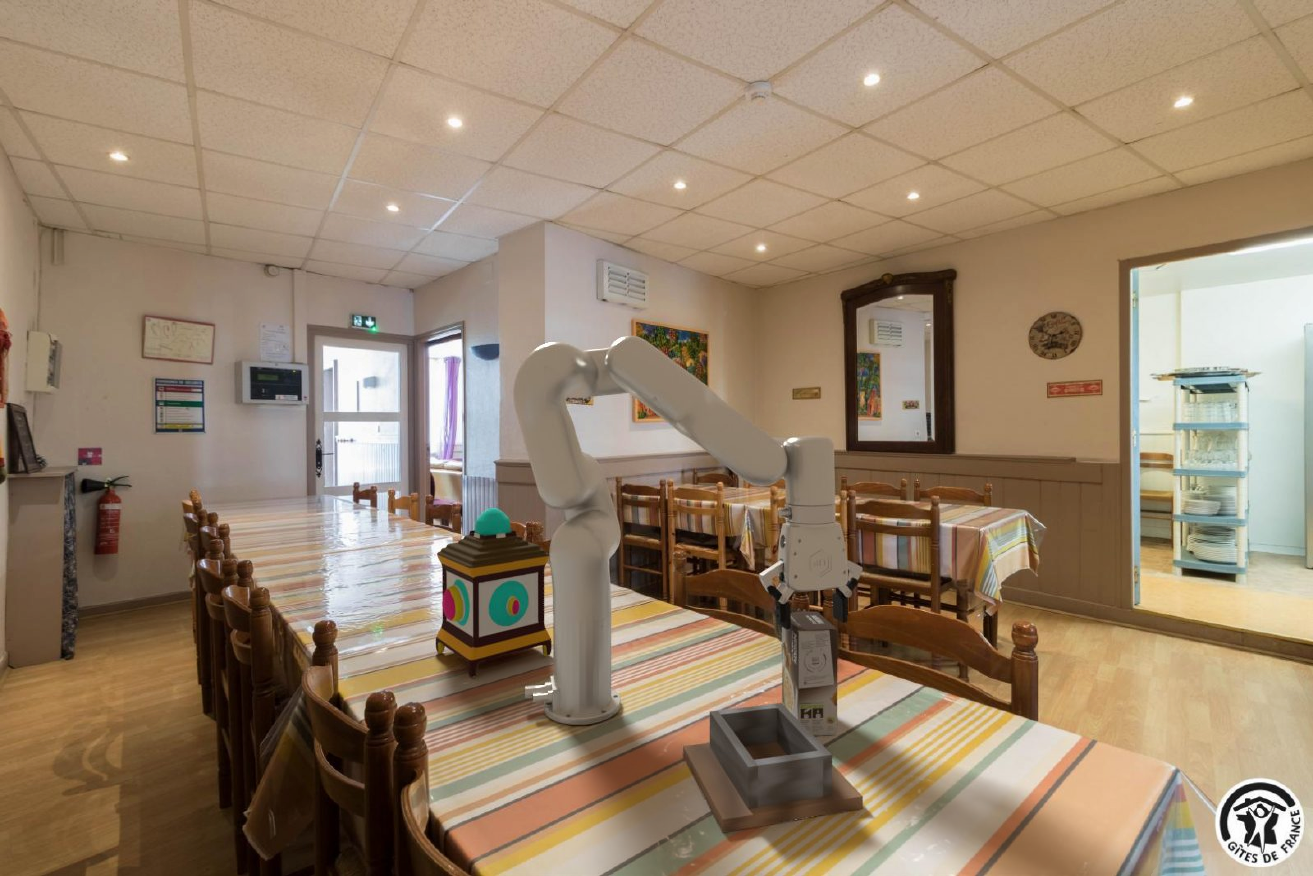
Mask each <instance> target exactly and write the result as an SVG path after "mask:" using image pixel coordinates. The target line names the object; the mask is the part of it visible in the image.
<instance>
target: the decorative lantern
mask: <svg viewBox="0 0 1313 876" xmlns="http://www.w3.org/2000/svg"><path fill="white" fill-rule="evenodd" d="M468 533H469V534H467V535H465V536H463V538H462V539H459V540H458V541H457V542H451V543H448V544H447V545H446V546H445V547H443V548H441V549H440V551H438V552H436V556H437V559H438V561H439V562H440V564H441V569H442V571H441V572H442V575H441V576H442V587H441V588H442V589H441V590H442V601H441V603H442V605H441V606H442V623H441V626H440V628H439V630H438V632H437V634H436V636H435V650H436V653H438V654H443V653H444V652H445V648H446V649H448V650H449V651H451V652H452V653H454V654H455V655H456V656H457V657H459V658H460V659H462V660H464V661H465V663H466V664H467V671H468V676H469V677H470V678H471V679H474V678H476V676H477V671H478V666H479V665H480V664H481V663H482V662H485V661H489V660H492V659H496V658H500V657H503V656H507V655H510V654H515V653H518V652H522V651H525V650H528V649H533V648H537V647H540V646H541V647H542V654H543V656H544V657H549V656H550V655H551V653H552V649H553V648H552V647H553V644H552V643H553V642H552V638H551V636H550V634H549V632H548V631H547V628H546V625H545V568H546V566H547V563H548V561H549V553H548V552H546V550H545V549H544V548H541V547H540V545H539V544H535V543H532V542H529V541H528V540H526V539H523V538H522V536H521V535H518V534H517V531H516V530H512V529H511V521H510V518H509V516H508V515H506V513H504V512H503V511H502V510H501V509H499V508H495V507H490V508H487V509H485V510H484V511H483V512H482V513H481V514H480V515H479V516H478V517H477V518H476V520H475V525H474V530H469V532H468Z"/></svg>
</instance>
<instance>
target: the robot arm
mask: <svg viewBox="0 0 1313 876" xmlns="http://www.w3.org/2000/svg"><path fill="white" fill-rule="evenodd" d="M512 393H513V396H512V397H513V403H514V410H515V413H516V414H515V415H516V416H517V420H518V424H519V427H520V430H521V433H522V437H523V441H524V445H525V449H526V453H527V456H528V459H529V462H530V467H531V470H532V475H533V477H534V481H535V485H536V488H537V491H538V495H539V497H540V498H541V501H543V503H544V504H545V505H546V506H547V507H549V508H551V509H553V510H555V511H561V512H562V515H563V516H562V517H563V520H564V522H563V523H561V524H560V525H559V526H558V528H557V529H556V530H555V531H554V533H553V536H552V537H551V541H550V544H549V553H548V554H549V559H548V561H549V567H550V574H551V575H550V576H551V585H552V615H553V619H552V620H553V623H552V625H553V627H552V628H553V631H552V632H553V635H552V636H553V642H552V643H553V644H552V647H553V648H552V649H553V673H552V674H553V675H550V677H549V678H550V681H546V682H544V684H541V685H540V684H537V685H536V684H531V685H525V686H524V698H525V699H526V700H527V699H532V703H533V704H539V703H543V711H544V714H545V715H546V716H547V717H548V718H549V719H551V720H553V721H554V722H557V723H560V724H565V725H573V726H584V725H591V724H593V725H594V724H598V723H600V722H603V721H606V720H608V719H610V718H611V717H613V716H615V715H616V714H617V713H618V712H619V711H620V708H621V704H622V700H621V695H620V694H619V693H618V692H617V691H616V690H615V689H613V688H612V586H611V575H610V559H611V558H612V556H613V555H614V554H615V553H616V551H617V550H618V548H619V546H620V543H621V539H622V538H621V537H622V535H621V533H622V532H621V527H620V521H619V518H618V516H617V512H616V509H615V505H614V501H613V499H612V495H611V492H610V489H609V485H608V481H607V478H606V475H605V473H604V470H603V468H602V465H600V463H599V462H598V461H597V459H595V457H594V456H592V455H590V454H589V453H587V452H584V451H582V447H581V445H580V442H579V438H578V436H577V432H576V431H577V430H576V428H575V424H574V421H573V418H572V417H571V414H570V412H569V410H568V407H567V400H566V399H567V398H570V399H583V398H584V399H585V398H593V397H595V398H596V397H603V396H614V395H623V394H629V395H630V396H632V397H633V398H634V399H636V400H638V402H641V404H643V405H644V406H646V407H647V408H648V409H649V410H651V411H652V412H653V413H654V414H656V415H657V416H658V417H660V418H661V419H662V420H663V421H665V422H666V423H667V424H668V425H670V426H671V427H672V428H674V429H675V430H676V431H677V432H678V433H680V434H681V435H683V436H685V437H686V438H688V439H690V440H691V441H693V442H694V444H695V443H696V444H697V445H698V446H699V447H700V448H701V449H703V450H704V451H706V452H707V453H708V454H710V455H711V456H712V457H713V458H715V459H716V460H717V461H718V462H720V463H721V464H722V465H724V466H725V468H726V467H727V469H729V470H731V472H733V473H734V474H735V475H737V476H738V477H739V478H741V479H742V480H744V481H745V482H747V483H748V484H750V485H752V486H755V487H769V486H772V485H774V484H776V483H777V482H779V481H780V480H783V479H784V483H785V486H784V487H785V503H784V507H783V508H780V509H778V510H777V512H778V513H777V515H778V518H779V519H780V518H782V519H783V518H784V520H785V523H782V525H781V529H780V530H781V531H780V535H779V541H778V552H777V561H776V562H775V563H774V564H773V565H771V566H769V567H768V568H766V569H764V570H763V571H762V572H760V573H759V574H758V578H759V581H760V582H761V584H762V586H763V587H764V590H765V592H767V593H768V594H769V595H770V596H771V597H772V598H773V600H775V601H774V602H775V609H776V620H777V622H778V624H779V625H780V626H782V627H783V628H785V629H790V628H791V611H790V609H791V604H790V603H789V602H788V600H789V599H790V597H791V596H792V595H793V593H794V592H798V593H802V592H813V591H814V592H815V591H823V590H825V591H826V590H832V589H833V590H834V591H835V592H833V594H832V616H833V618H834V619H836V620H837V621H839V622H841V623H842V624H846V623H848V615H849V598H850V597H851V596H852V592H853V591H854V590H855V588H856V587H857V585H858V584H859V580H860V577H861V575H862V572H863V567H862V566H861V565H859V564H857V563H855V562H853V561H851V560H848V556H847V548H846V547H847V546H846V543H845V542H846V541H845V536H844V532H843V528H842V524H841V523H840V522H837V521H836V484H835V483H836V481H835V479H836V478H835V474H836V473H835V471H836V470H835V446H834V445H835V444H834V442H833V440H832V439H831V438H830V437H829V436H824V435H803V436H793V437H790V438H787V437H774V436H771V435H770V434H769V433H767V432H765V431H764V430H763V429H761V428H760V427H759V426H757V425H756V424H754V422H752V421H751V420H749V418H747V417H745V416H744V415H743V414H742V413H740V412H739V411H737V410H736V409H735V408H734V407H732V406H731V405H729V404H728V403H727V402H725V400H723V399H722V398H721V397H720V396H719V395H718V394H717V393H716V392H715V391H714V390H712V388H710V386H708V385H706V384H705V382H702V381H701V380H700V379H699V378H697V377H696V376H694V375H693V374H692V373H690V372H689V371H687V370H686V369H685V368H683V367H682V366H681V365H679V364H678V363H677V362H675V361H674V360H673V359H672V358H671V357H669V356H668V355H666V353H664V352H663V351H661V350H660V349H658V348H657V347H655V346H654V345H653V344H652V343H650V342H649V341H647V340H646V339H644V338H642V337H639V336H637V335H626V336H622V337H620V338H618V339H617V340H615V341H614V342H612V344H611V345H610V346H609V347H606V348H597V349H595V348H594V349H586V350H580V349H579V348H577V347H575V346H573V345H571V344H569V343H565V342H562V341H561V342H559V341H555V342H553V341H552V342H547V343H545V344H542V345H540V346H538V347H537V348H535V349H534V350H533V351H531V352H530V353H529V354H528V355H527V357H525V359H524V360H523V361H522V363H521V365H520V366H519V368H518V370H517V373H516V376H515V379H514V383H513V392H512ZM776 576H777V579H778V582H779V584H778V585H777V586H775V585H774V583H773V579H774V578H775V577H776Z"/></svg>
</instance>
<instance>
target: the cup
mask: <svg viewBox="0 0 1313 876" xmlns="http://www.w3.org/2000/svg"><path fill="white" fill-rule="evenodd" d="M790 611H791V613H793V612H807V610H806V609H803V610H801V608H799V607H798V609H797V610H796V609H795V607H791V608H790ZM772 618H773V619H772V621H773V629H774V634H775V637H776V638H777V640H778V641H779V642H780V643H781V647H782V626H780V625H779V624H778V622H777V620H776V608H775V609H772Z"/></svg>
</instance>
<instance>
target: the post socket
mask: <svg viewBox="0 0 1313 876" xmlns="http://www.w3.org/2000/svg"><path fill="white" fill-rule="evenodd" d="M682 757H683V759H684V761H685V764H686V765H687V767H688V769H689V770H690V773H691V774H692V776H693V778H694V780H695V783H696V784H697V786H698V787H699V789H700V792H701V794H702V797H704V800H705V801H706V803H707V805H708V807H709V809H710V811H711V813H712V815H713V818H715V821H716V823H717V824H718V827H719V828H720V830H721V833H728V832H735V831H741V830H746V829H752V828H753V829H754V828H757V827H764V826H769V825H775V824H780V823H781V824H782V823H786V821H788V822H791V821H790V820H793V821H796V820H795V819H799V820H803V819H802V818H805V819H807V818H806V817H811V818H813V817H812V816H817V817H819V816H818V815H822V816H827V815H826V814H828V815H832V814H833V813H834V814H839V813H845V812H844V811H846V812H849V810H851V811H857V810H861V809H862V810H863V809H864V808H863V805H864V803H863V802H864V796H863V795H862V793H860V791H858V789H856V788H855V786H853V784H852V783H851V782H849V780H848V779H847V778H846V777H845V776H844V775H843V774H842V772H841V771H840V770H838V769H837V768H836V766H835V765H834V764H833V754H832V753H831V752H830V751H829V750H828V749H827V748H826V747H825V746H824V745H823V744H822V743H821V741H819V740H818V739H817V738H816V737H815V736H813V735H812V734H811V733H810V732H809V731H808V730H807V729H806V728H805V727H804V725H803V724H802V723H801V722H800V721H799V720H798V719H797V718H796V717H795V716H794V715H793V714H792V713H791V712H790V711H789V710H788V709H787V708H786V707H785V706H784V705H783V704H782V702H778V703H769V704H761V705H752V706H746V707H745V706H744V707H737V708H736V707H735V708H727V709H726V708H725V709H718V710H712V711H711V710H710V711H709V742H705V743H697V744H688V745H683V746H682ZM837 812H839V813H837ZM834 814H833V815H834Z"/></svg>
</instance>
